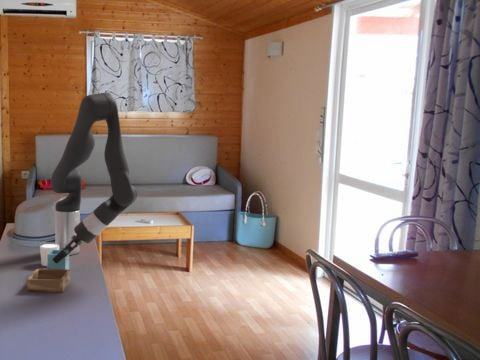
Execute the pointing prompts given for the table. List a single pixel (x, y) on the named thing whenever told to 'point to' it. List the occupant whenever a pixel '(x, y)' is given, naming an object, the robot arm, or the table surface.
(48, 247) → the white cylinder
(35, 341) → the table surface
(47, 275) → the walnut crate
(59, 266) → the teal crate
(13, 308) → the table surface
